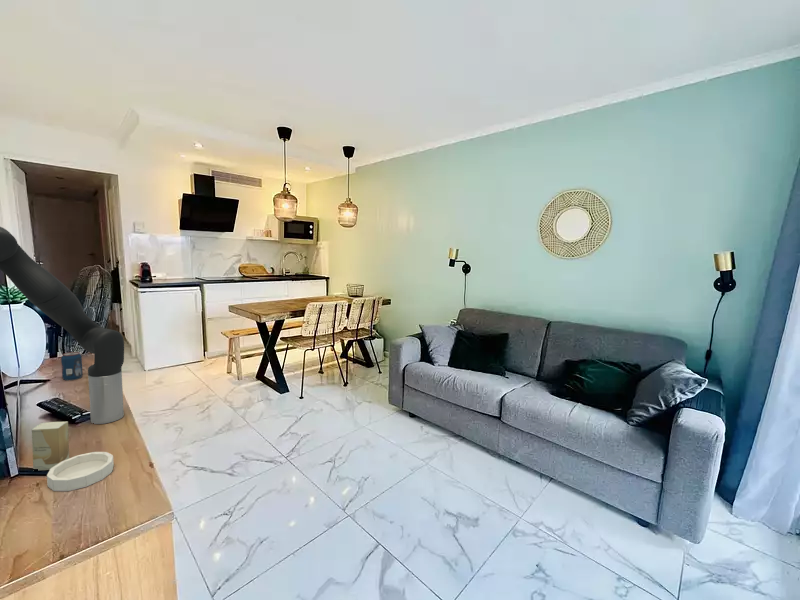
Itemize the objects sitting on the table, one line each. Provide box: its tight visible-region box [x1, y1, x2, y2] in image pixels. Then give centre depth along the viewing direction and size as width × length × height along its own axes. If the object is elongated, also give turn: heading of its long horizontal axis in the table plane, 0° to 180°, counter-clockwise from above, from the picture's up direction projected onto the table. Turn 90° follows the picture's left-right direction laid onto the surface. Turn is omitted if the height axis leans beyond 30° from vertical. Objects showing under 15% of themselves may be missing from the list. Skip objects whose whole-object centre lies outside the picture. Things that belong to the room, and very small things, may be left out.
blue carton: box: [60, 351, 84, 382], centre depth 163 cm, size 7×7×12 cm
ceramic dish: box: [46, 451, 115, 492], centre depth 95 cm, size 13×13×3 cm
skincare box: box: [31, 421, 70, 471], centre depth 98 cm, size 6×4×12 cm
